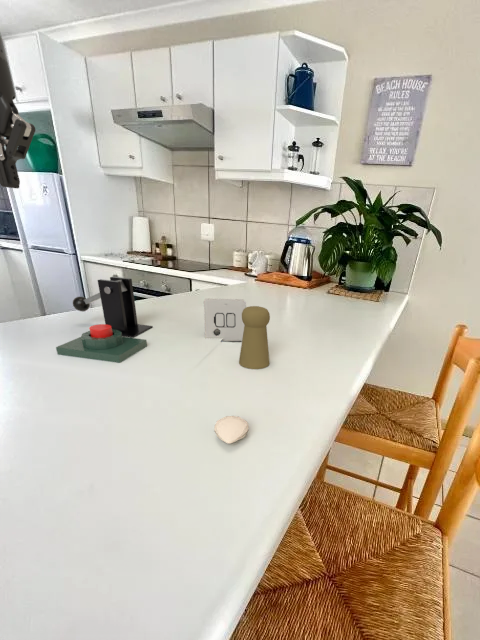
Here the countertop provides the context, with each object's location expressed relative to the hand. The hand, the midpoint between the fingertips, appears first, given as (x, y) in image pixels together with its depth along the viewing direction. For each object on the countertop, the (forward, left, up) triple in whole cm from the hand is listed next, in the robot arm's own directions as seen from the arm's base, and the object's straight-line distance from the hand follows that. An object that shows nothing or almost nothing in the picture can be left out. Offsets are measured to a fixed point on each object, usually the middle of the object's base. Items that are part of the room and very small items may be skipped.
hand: (10, 187), depth 56 cm
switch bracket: (+12, +7, -27) cm, 30 cm away
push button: (+16, -5, -23) cm, 29 cm away
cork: (+44, 0, -27) cm, 52 cm away
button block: (+16, -5, -27) cm, 32 cm away
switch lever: (+8, +7, -21) cm, 23 cm away
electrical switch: (+34, +12, -27) cm, 45 cm away
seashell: (+47, -25, -27) cm, 60 cm away
